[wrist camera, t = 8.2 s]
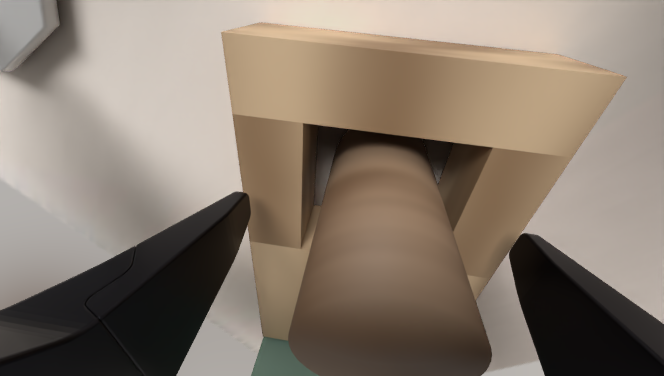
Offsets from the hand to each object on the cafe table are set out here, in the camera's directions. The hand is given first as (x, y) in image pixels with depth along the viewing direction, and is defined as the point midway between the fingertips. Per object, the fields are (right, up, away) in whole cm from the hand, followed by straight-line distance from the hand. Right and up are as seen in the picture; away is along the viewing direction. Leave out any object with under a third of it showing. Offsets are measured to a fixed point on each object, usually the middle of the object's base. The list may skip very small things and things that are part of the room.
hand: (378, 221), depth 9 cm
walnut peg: (+1, +2, +3) cm, 4 cm away
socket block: (0, 0, +5) cm, 5 cm away
